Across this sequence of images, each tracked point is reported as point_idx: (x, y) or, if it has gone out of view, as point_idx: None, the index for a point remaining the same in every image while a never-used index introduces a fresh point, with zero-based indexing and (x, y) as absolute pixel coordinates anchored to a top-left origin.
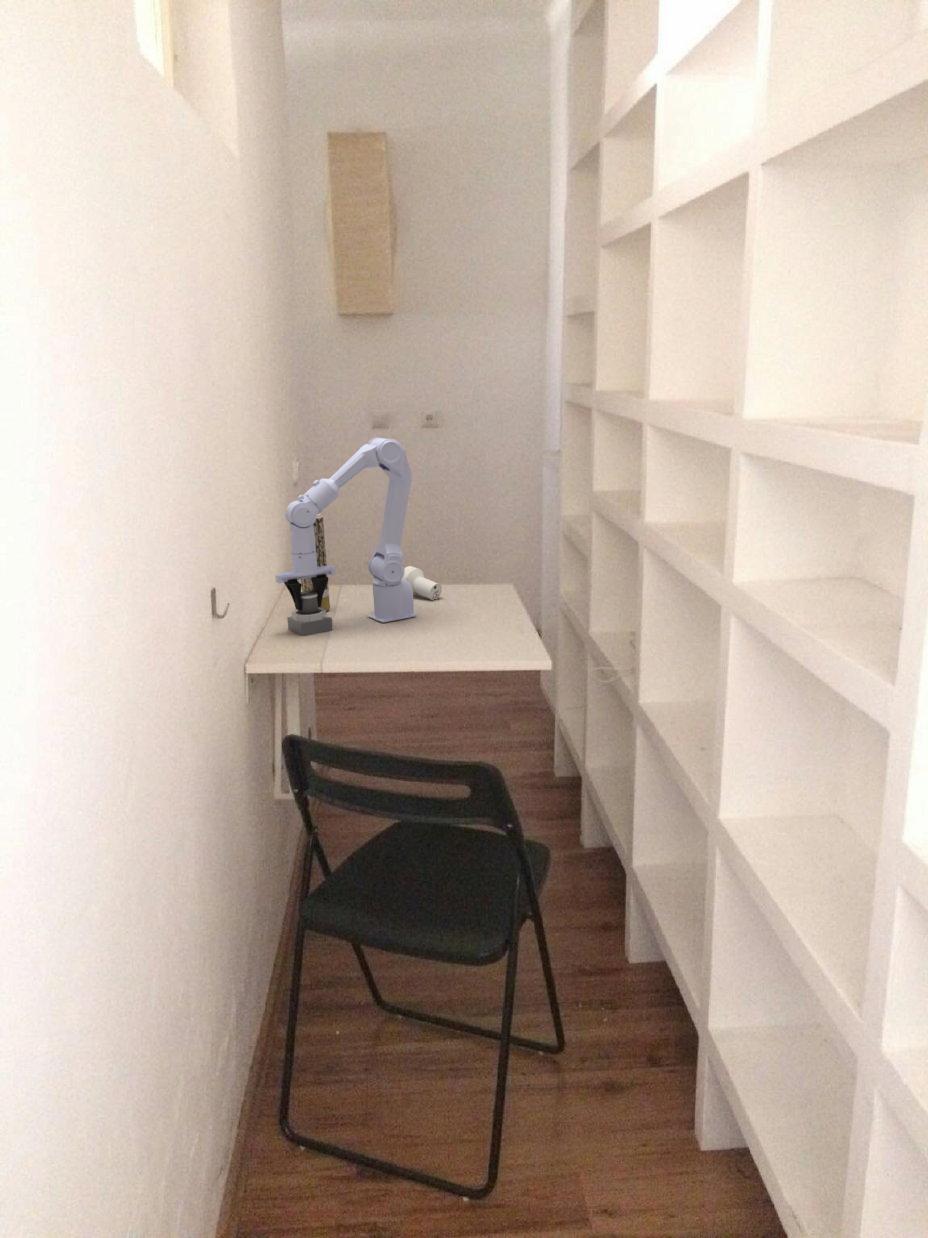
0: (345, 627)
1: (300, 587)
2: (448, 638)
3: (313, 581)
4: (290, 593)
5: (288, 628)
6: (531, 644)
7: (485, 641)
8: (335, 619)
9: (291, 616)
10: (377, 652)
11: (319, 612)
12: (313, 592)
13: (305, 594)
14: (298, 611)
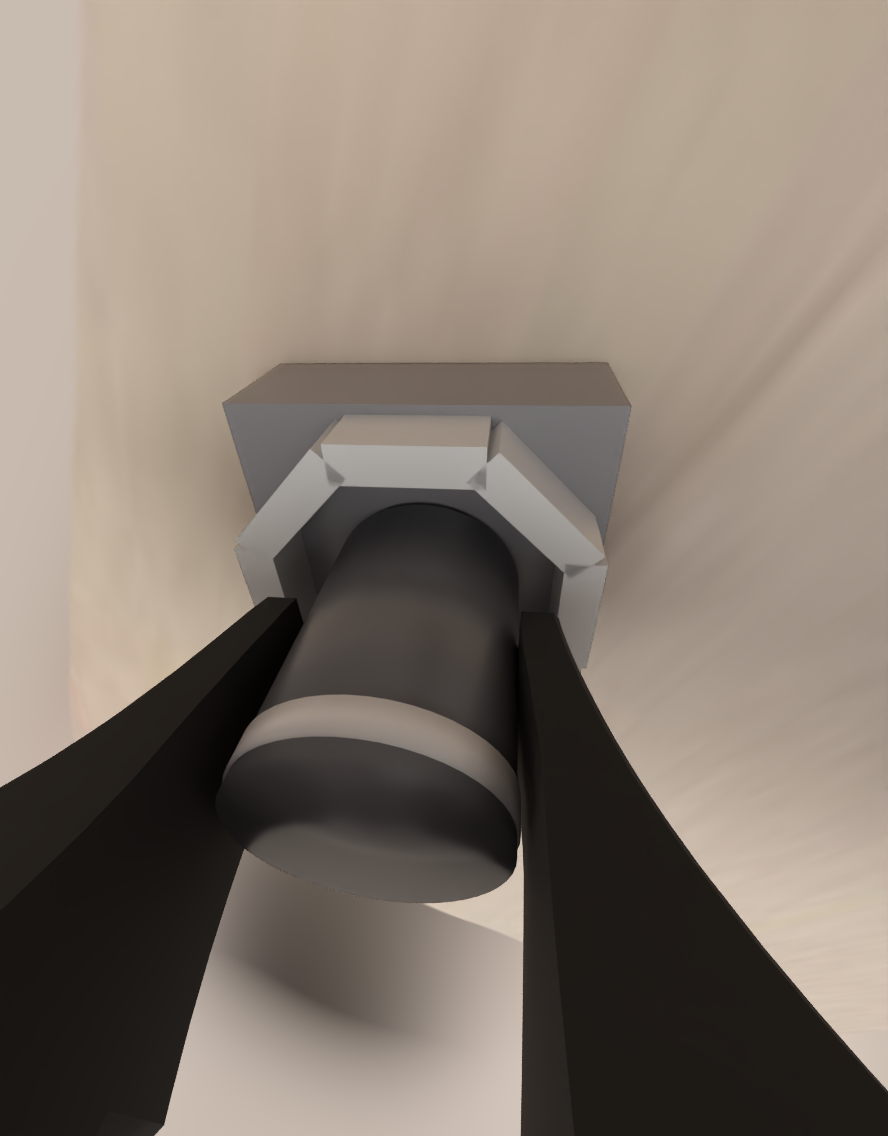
0: (677, 618)
1: (172, 1037)
2: (815, 937)
3: (550, 1051)
4: (71, 757)
5: (278, 367)
6: (885, 1028)
7: (847, 984)
8: (858, 317)
9: (271, 406)
10: (515, 893)
11: (557, 569)
12: (445, 872)
13: (306, 870)
14: (330, 492)
